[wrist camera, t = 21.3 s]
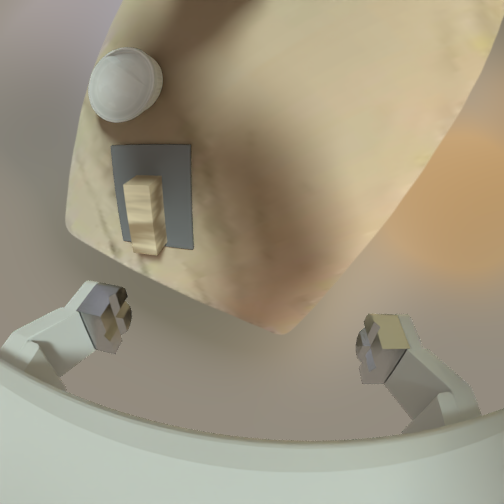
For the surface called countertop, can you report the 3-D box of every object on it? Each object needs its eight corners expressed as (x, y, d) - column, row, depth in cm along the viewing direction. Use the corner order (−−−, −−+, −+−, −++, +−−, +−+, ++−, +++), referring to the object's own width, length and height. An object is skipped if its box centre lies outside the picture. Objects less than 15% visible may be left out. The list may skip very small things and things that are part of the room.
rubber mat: (112, 145, 40) (110, 146, 40) (190, 144, 39) (189, 145, 39) (124, 239, 50) (123, 240, 50) (193, 248, 49) (192, 249, 49)
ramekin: (175, 48, 32) (159, 45, 27) (165, 119, 38) (149, 125, 33) (111, 51, 32) (91, 50, 27) (105, 116, 38) (86, 122, 33)
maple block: (157, 255, 45) (149, 185, 38) (133, 252, 45) (123, 184, 39) (167, 241, 49) (161, 175, 42) (144, 238, 49) (136, 175, 42)
